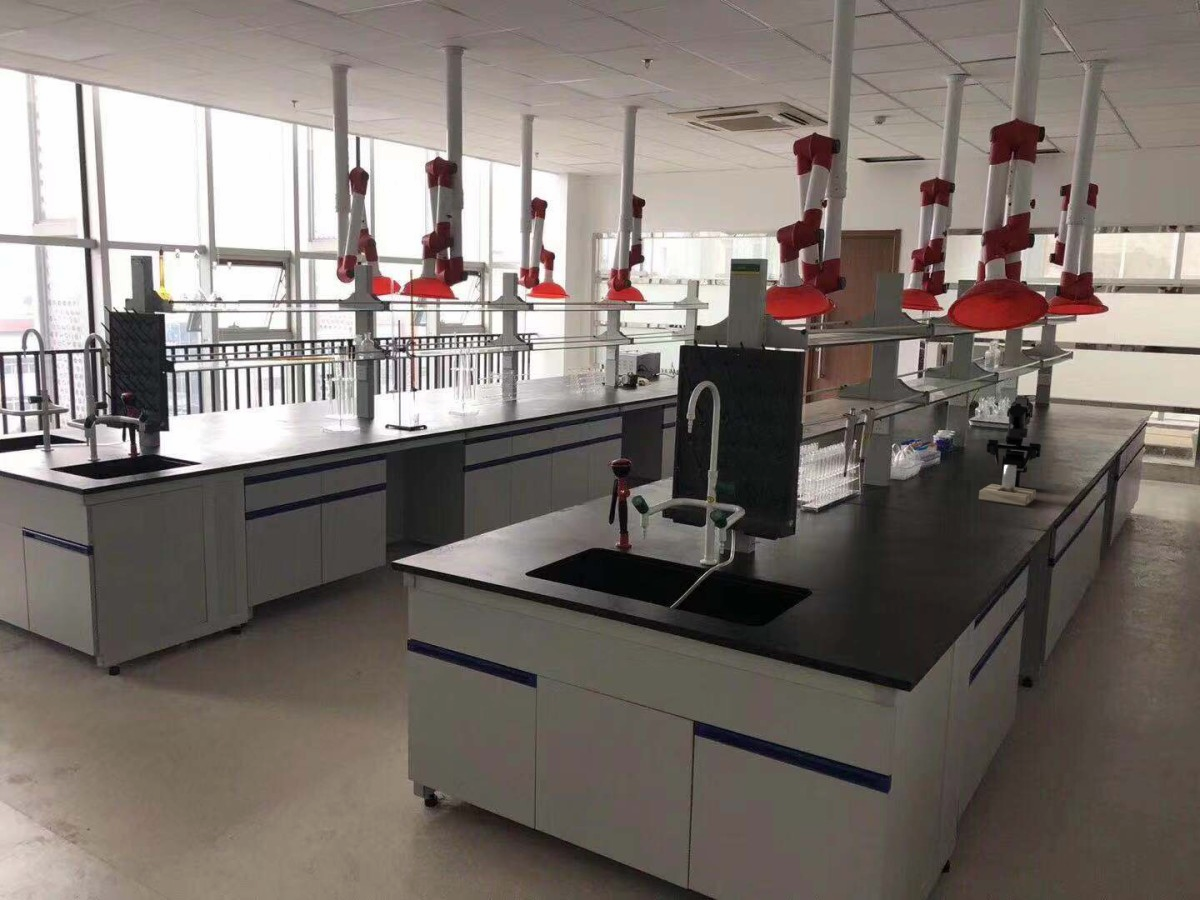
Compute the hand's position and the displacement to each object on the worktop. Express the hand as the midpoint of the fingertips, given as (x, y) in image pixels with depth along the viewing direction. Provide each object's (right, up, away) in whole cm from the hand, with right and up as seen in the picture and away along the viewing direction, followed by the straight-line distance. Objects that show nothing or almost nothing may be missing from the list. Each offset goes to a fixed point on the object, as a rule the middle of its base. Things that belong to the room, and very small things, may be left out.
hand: (1010, 466), depth 346 cm
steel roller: (-2, -12, -2) cm, 12 cm away
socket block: (-2, -12, -2) cm, 13 cm away
